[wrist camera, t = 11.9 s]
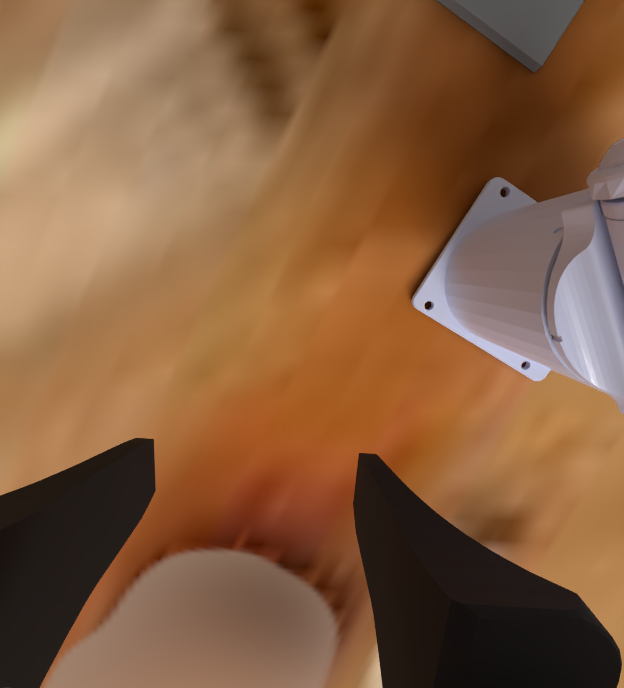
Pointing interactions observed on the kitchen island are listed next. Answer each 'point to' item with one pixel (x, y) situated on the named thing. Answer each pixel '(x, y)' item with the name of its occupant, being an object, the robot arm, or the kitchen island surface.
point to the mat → (519, 24)
